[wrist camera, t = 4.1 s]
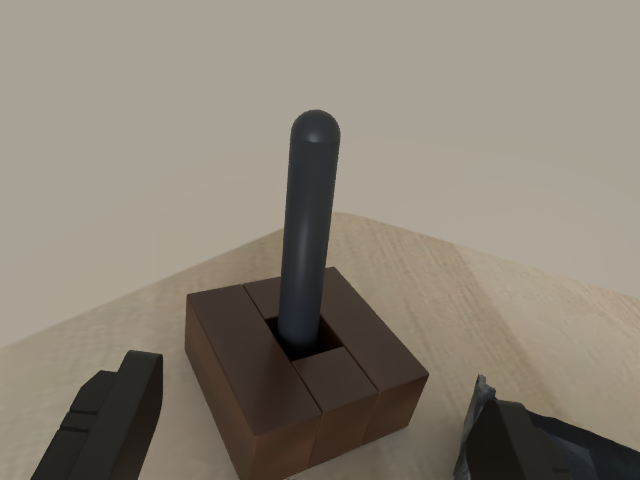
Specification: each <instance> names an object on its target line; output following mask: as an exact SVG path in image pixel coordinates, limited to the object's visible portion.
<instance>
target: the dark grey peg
mask: <svg viewBox="0 0 640 480" xmlns="http://www.w3.org/2000/svg"><path fill="white" fill-rule="evenodd" d="M339 145H340V128H339V126H338V123H337V122H336V120H335V119H334V118H333V117H332V116H331V115H330V114H328V113H327V112H325V111H322V110H309V111H307V112H304V113H303V114H301V115H300V116H299V117H298V118H297V119H296V120H295V122H294V123H293V126H292V129H291V137H290V151H289V166H288V182H287V196H286V211H285V225H284V239H283V254H282V269H281V283H280V298H279V312H278V327H277V341H278V343H279V345H280V346H281V348H282V349H283V351H284V353H285V354H286V356H287V357H288V359H289V361H290V362H292V361H295V360H299V359H302V358H305V357H309V356H312V355H315V352H316V343H317V335H318V326H319V318H320V309H321V300H322V292H323V283H324V275H325V266H326V257H327V249H328V240H329V231H330V223H331V214H332V206H333V197H334V187H335V180H336V171H337V162H338V154H339Z"/></svg>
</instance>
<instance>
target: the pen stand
mask: <svg viewBox="0 0 640 480" xmlns="http://www.w3.org/2000/svg"><path fill="white" fill-rule="evenodd" d="M280 283H281V277H276V278H271V279H265V280H260V281H255V282H249V283H244V284H243V285H242V284H239V285H234V286H228V287H223V288H218V289H212V290H207V291H202V292H197V293H191V294H187V300H186V327H185V351H186V353H187V356H188V358H189V361H190V363H191V365H192V368H193V370H194V372H195V375H196V377H197V380H198V382H199V384H200V387H201V389H202V391H203V394H204V396H205V399H206V401H207V403H208V406H209V408H210V411H211V413H212V415H213V418H214V420H215V422H216V425H217V427H218V430H219V432H220V434H221V437H222V439H223V441H224V444H225V446H226V449H227V451H228V453H229V456H230V458H231V461H232V463H233V465H234V468H235V470H236V472H237V475H238V477H239V480H282V479H284V478H287V477H289V476H291V475H294V474H296V473H298V472H301V471H303V470H305V469H307V468H310V467H313V466H315V465H317V464H320V463H322V462H324V461H327V460H329V459H331V458H334V457H336V456H338V455H341V454H343V453H345V452H348V451H350V450H353V449H355V448H357V447H359V446H360V445H364V444H366V443H369V442H371V441H373V440H376V439H378V438H380V437H383V436H385V435H387V434H390V433H392V432H394V431H397V430H399V429H401V428H404V427H406V426H408V424H409V422H410V419H411V417H412V415H413V412H414V410H415V407H416V405H417V403H418V400H419V398H420V396H421V393H422V391H423V389H424V386H425V384H426V382H427V379H428V377H429V373H428V371H427V370H426V369H425V368H424V367H423V366H422V365H421V364H420V362H419V361H418V360H417V359H416V358H415V357H414V356H413V355H412V353H411V352H410V351H409V350H408V349H407V348H406V347H405V346H404V344H403V343H402V342H401V341H400V340H399V339H398V338H397V337H396V335H395V334H394V333H393V332H392V331H391V330H390V329H389V328H388V326H387V325H386V324H385V323H384V322H383V321H382V320H381V319H380V317H379V316H378V315H377V314H376V313H375V312H374V311H373V310H372V308H371V307H370V306H369V305H368V304H367V303H366V302H365V301H364V299H363V298H362V297H361V296H360V295H359V294H358V293H357V292H356V290H355V289H354V288H353V287H352V286H351V285H350V284H349V283H348V281H347V280H346V279H345V278H344V277H343V276H342V275H341V274H340V272H339V271H338V270H337V269H336V268H335V267H329V268H325V275H324V283H323V292H322V300H321V309H320V318H319V326H318V335H317V343H316V352H315V355H312V356H309V357H305V358H302V359H299V360H295V361H292V362H290V361H289V359H288V357H287V356H286V354H285V353H284V351H283V349H282V348H281V346H280V345H279V343H278V341H277V327H278V312H279V298H280Z"/></svg>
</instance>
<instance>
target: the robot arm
mask: <svg viewBox="0 0 640 480" xmlns="http://www.w3.org/2000/svg"><path fill="white" fill-rule="evenodd" d="M162 399H163V356H162V354H157V353H149V352H142V351H134V350H129V351H128V352H127V354H126V356H125V357H124V360H123V362H122V364H121V366H120V368H119V370H118V372H111V371H103V370H100V371H99V372H98V373H97V374H96V375H94V376H93V377H92V378H91V379H90V380H89V381H88V382H86V383H85V384H84V385H83V386H82V387H81V388H80V390H79V392H78V394H77V396H76V398H75V399H74V401H73V403H72V405H71V407H70V410H69V412H67V414H66V416H65V418H64V419H63V421H62V423H61V425H60V429H59V430H57V432H56V434H55V436H54V438H53V439H52V441H51V443H50V445H49V447H48V448H47V450H46V452H45V454H44V456H43V458H42V459H41V461H40V463H39V465H38V467H37V468H36V470H35V472H34V474H33V476H32V477H31V479H30V480H138V477H139V474H140V471H141V468H142V465H143V463H144V460H145V457H146V454H147V451H148V448H149V445H150V443H151V440H152V437H153V434H154V431H155V428H156V425H157V422H158V419H159V415H160V411H161V406H162ZM466 460H467V465H468V468H469V472H470V476H471V479H472V480H573V479H572V476H571V474H569V473H568V468H567V466H566V463H565V461H564V459H563V457H562V455H561V453H560V450H559V448H558V447H557V446H556V445H555V443H554V442H553V441H552V440H551V439H550V437H549V436H548V435H547V434H546V433H545V431H544V430H543V429H542V428H538V427H534V426H533V424H532V422H531V419H530V417H529V415H528V412H527V410H526V408H525V407H524V405H523V404H521V403H518V402H511V401H503V400H496V399H489V400H488V401H487V402H486V403H485V405H484V407H483V409H482V411H481V412H480V414H479V416H478V418H477V420H476V422H475V424H474V425H473V427H472V429H471V431H470V433H469V435H468V437H467V441H466Z"/></svg>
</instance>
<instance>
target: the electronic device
mask: <svg viewBox="0 0 640 480" xmlns="http://www.w3.org/2000/svg"><path fill="white" fill-rule="evenodd" d="M495 393H496V390H495V388H493V387H490V386H489V385H487V384H486V377H484V376H483V375H480V374H478V378H477V381H476V384H475V389H474V393H473V396H472V398H471V402H470V406H469V408H468V411H467V414H466V418H465V422H464V431H463V434H462V440H461V447H460V454H459V457H458V460H457V463H456V466H455V469H454V472H453V476H454V477H455V478H454V480H472V479H471V476H470V472H469V468H468V465H467V460H466V441H467V437H468V435H469V433H470V431H471V429H472V427H473V425H474V424H475V422H476V420H477V418H478V416H479V414H480V412H481V411H482V409H483V407H484V405H485V403H486V402H487V401H488V400H489V399H496V400H498V399H497V398H496V397H495ZM526 410H527V409H526ZM527 412H528V415H529V417H530V419H531V422H532V424H533V426H534V427H538V428H542V429H543V430H544V431H545V433H546V434H547V435H548V436H549V437H550V439H551V440H552V441H553V442H554V443H555V445H556V446H557V447H558V448H559V450H560V453H561V455H562V457H563V459H564V461H565V463H566V466H567V468H568V473H569V474H571V476H572V479H573V480H640V452H638V451H636V450H633V449H631V448H629V447H626V446H623V445H621V444H618V443H616V442H614V441H612V440H609V439H606V438H604V437H601V436H599V435H597V434H595V433H592V432H590V431H587V430H584V429H581V428H578V427H575V426H573V425H570V424H567V423H565V422H563V421H560V420H558V419H556V418H552V417H544V416H541V415H538V414H535V413H533V412H531V411H528V410H527Z"/></svg>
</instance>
